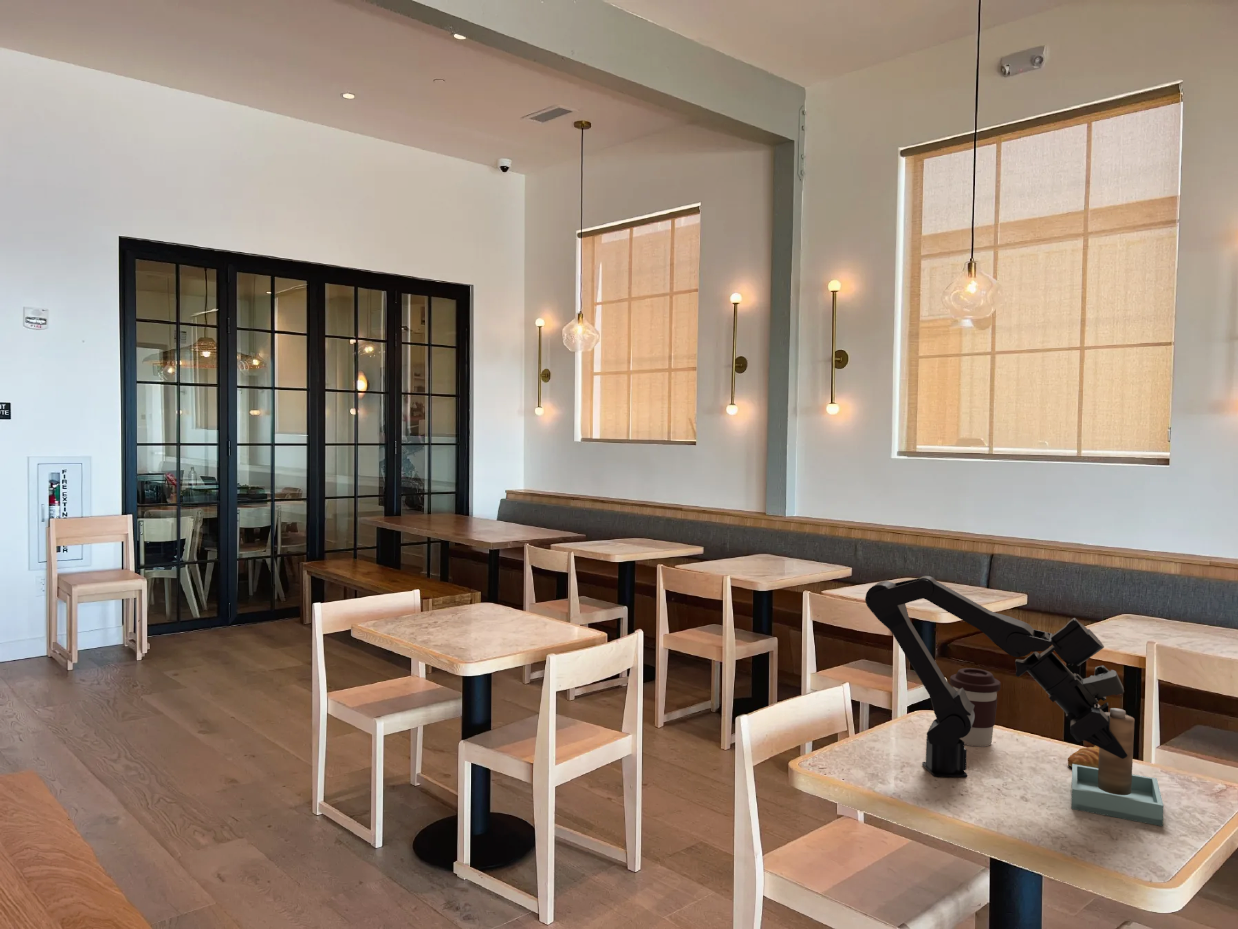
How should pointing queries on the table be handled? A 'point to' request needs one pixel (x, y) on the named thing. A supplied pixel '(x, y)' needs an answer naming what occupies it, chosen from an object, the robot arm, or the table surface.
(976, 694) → the coffee cup
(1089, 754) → the pastry
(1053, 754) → the table surface
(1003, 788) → the table surface
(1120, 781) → the pepper mill
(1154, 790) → the tray
